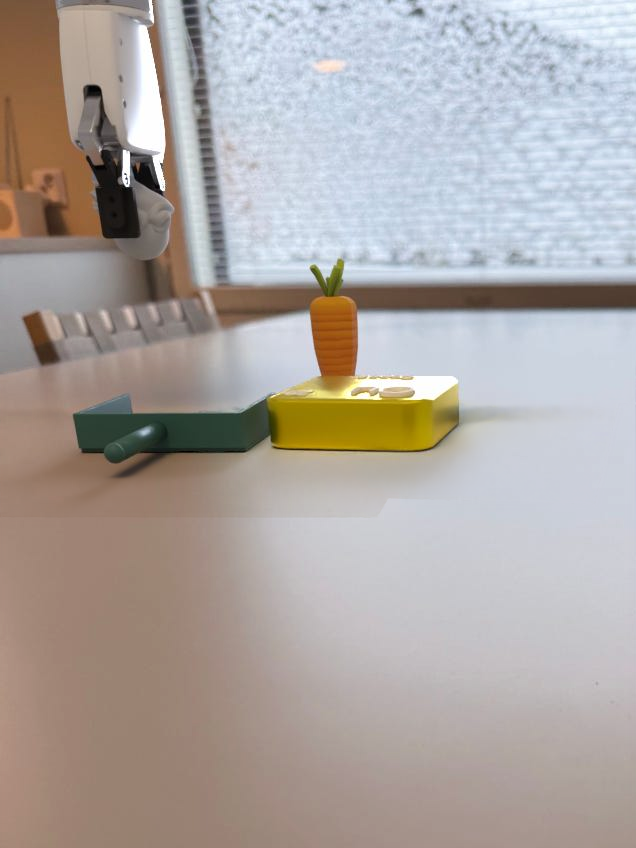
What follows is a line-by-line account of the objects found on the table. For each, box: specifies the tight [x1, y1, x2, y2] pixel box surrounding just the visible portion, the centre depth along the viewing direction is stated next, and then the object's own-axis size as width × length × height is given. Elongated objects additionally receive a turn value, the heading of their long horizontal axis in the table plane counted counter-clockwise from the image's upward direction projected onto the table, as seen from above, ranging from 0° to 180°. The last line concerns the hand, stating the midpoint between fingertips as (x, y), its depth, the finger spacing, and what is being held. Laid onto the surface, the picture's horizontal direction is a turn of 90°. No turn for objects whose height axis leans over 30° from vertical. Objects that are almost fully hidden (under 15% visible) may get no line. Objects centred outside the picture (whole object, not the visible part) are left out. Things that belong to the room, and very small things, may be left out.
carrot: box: [309, 258, 359, 376], centre depth 102 cm, size 5×5×15 cm
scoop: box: [72, 392, 276, 465], centre depth 83 cm, size 21×15×3 cm
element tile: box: [267, 374, 460, 452], centre depth 88 cm, size 15×15×5 cm
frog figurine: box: [89, 175, 175, 261], centre depth 85 cm, size 6×7×7 cm
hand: (137, 236), depth 86 cm, fingers closed on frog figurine, 6 cm apart
